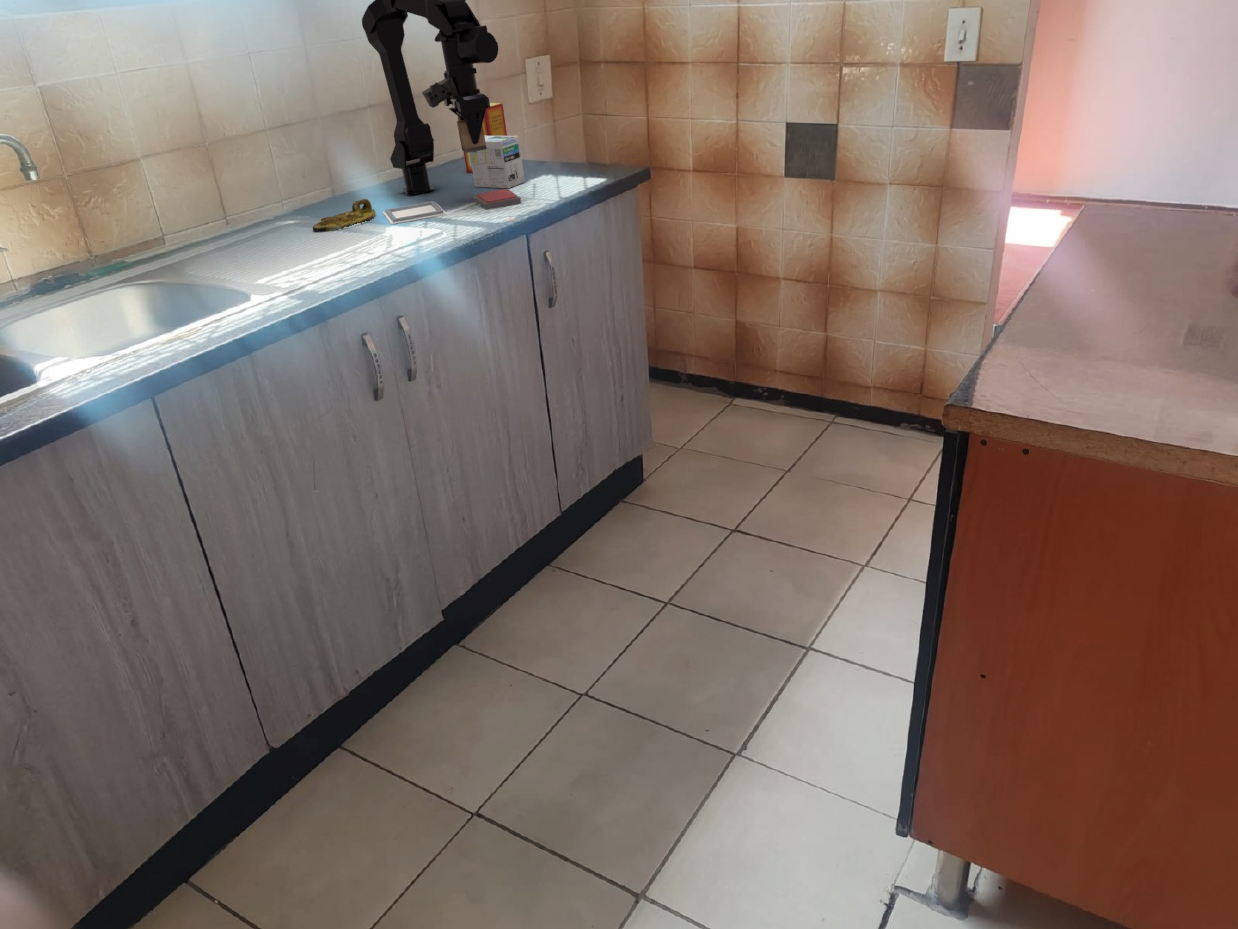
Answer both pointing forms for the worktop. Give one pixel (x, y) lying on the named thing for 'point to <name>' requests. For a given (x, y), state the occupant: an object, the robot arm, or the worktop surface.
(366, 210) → the seal
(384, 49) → the robot arm
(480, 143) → the brown cardboard box
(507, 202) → the ink pad
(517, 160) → the light bulb box
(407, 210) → the frame
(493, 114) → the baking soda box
